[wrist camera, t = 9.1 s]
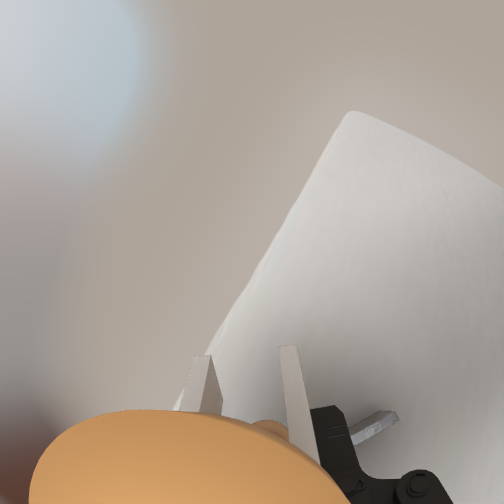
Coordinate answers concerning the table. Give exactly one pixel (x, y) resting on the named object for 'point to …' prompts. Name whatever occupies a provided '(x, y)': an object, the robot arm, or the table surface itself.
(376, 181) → the table surface
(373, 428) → the hinge leaf
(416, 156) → the table surface
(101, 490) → the hinge pin
